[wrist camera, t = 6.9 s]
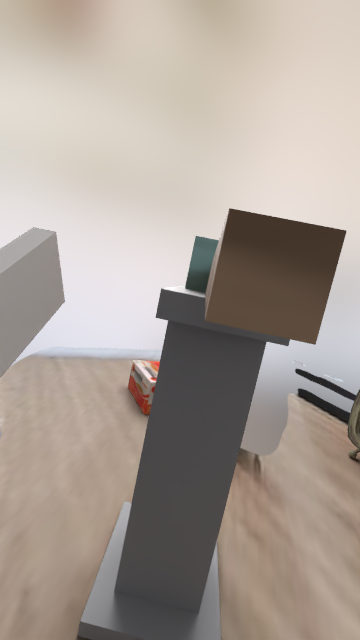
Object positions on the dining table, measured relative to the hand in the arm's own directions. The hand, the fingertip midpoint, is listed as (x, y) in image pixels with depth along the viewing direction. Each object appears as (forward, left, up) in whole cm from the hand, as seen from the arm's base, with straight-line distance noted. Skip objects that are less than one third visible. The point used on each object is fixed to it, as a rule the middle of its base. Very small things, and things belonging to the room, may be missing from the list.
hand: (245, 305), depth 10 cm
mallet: (+11, 0, -1) cm, 11 cm away
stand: (+18, 0, -31) cm, 35 cm away
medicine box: (+61, +9, -31) cm, 69 cm away
